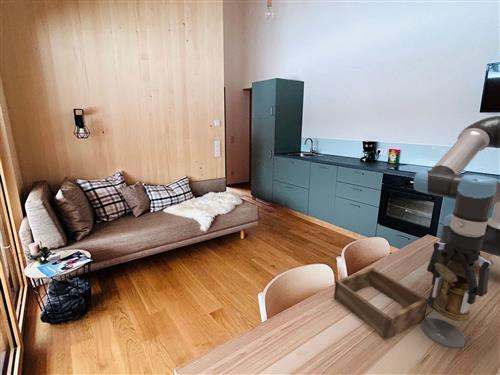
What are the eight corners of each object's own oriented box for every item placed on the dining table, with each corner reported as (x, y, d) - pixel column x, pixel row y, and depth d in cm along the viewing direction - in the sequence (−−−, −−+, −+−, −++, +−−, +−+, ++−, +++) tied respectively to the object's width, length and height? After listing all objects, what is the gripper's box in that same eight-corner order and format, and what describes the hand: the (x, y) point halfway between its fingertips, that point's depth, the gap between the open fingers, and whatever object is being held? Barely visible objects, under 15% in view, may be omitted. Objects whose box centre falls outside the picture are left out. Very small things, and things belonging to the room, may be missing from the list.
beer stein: (473, 322, 87) (485, 265, 83) (436, 317, 89) (446, 261, 86) (449, 294, 102) (458, 245, 98) (417, 291, 104) (425, 242, 100)
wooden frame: (370, 283, 107) (372, 267, 106) (424, 318, 89) (428, 299, 87) (333, 297, 99) (335, 281, 97) (386, 339, 80) (389, 320, 79)
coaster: (434, 315, 90) (434, 313, 90) (472, 339, 81) (473, 337, 81) (413, 327, 85) (414, 325, 85) (452, 353, 76) (453, 351, 76)
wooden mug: (415, 308, 83) (425, 255, 78) (446, 298, 88) (457, 248, 83) (444, 329, 75) (458, 272, 70) (476, 317, 80) (491, 262, 75)
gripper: (421, 221, 81) (409, 288, 87) (506, 250, 64) (483, 330, 70) (436, 217, 84) (423, 282, 90) (519, 243, 67) (497, 321, 73)
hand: (449, 303), depth 80 cm, fingers closed on wooden mug, 7 cm apart
